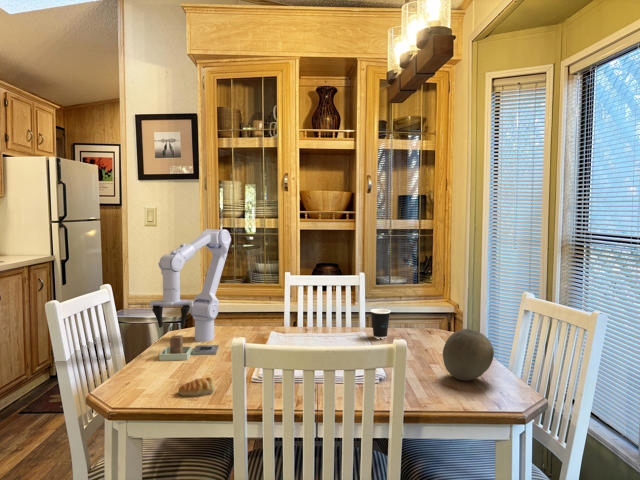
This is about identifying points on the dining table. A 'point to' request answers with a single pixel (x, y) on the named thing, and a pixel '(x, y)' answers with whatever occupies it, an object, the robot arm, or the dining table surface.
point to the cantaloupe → (467, 354)
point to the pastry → (197, 387)
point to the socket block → (205, 350)
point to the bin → (165, 357)
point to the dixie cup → (380, 322)
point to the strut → (176, 344)
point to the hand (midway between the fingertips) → (171, 326)
